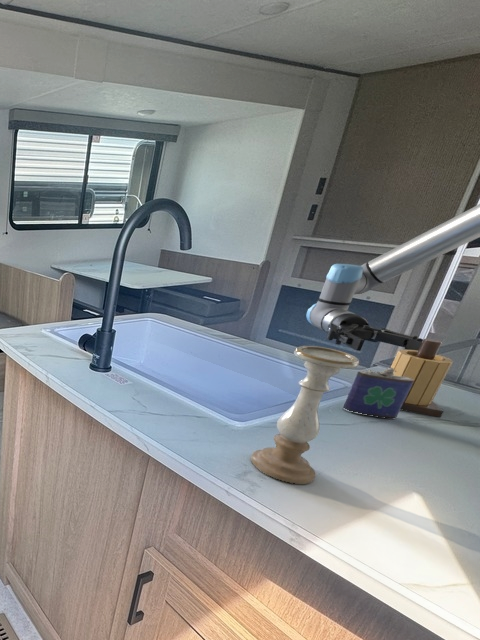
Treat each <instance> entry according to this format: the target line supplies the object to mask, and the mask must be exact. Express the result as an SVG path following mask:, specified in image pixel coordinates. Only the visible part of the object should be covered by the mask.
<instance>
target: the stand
mask: <svg viewBox="0 0 480 640" xmlns="http://www.w3.org/2000/svg"><path fill="white" fill-rule="evenodd" d="M442 345H443V342H442V341H441V340H439V339H438V340H437V339H433V338H423V342H422V344H421V346H420V348H419V350H418V352H417V354H416V356H415V357H419V358H423V359H428V360H434V358H435V356H436V354H437V355H438V352H439V350H440V348H441V346H442ZM400 409H403V410H402V411H404V410H407V411H406V412H410V411H411V413H415V414H421V415H425V416H430V417H431V416H432V417H436V418H441V417H442V415H443V413H444V410H443V409H442V408H441V407H440V406H438V404H436V403H435V402H434V400H433V401H432V403H431V404H429V405H414V404H409V403H405V402H403V405H402V406H401V408H400Z"/></svg>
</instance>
